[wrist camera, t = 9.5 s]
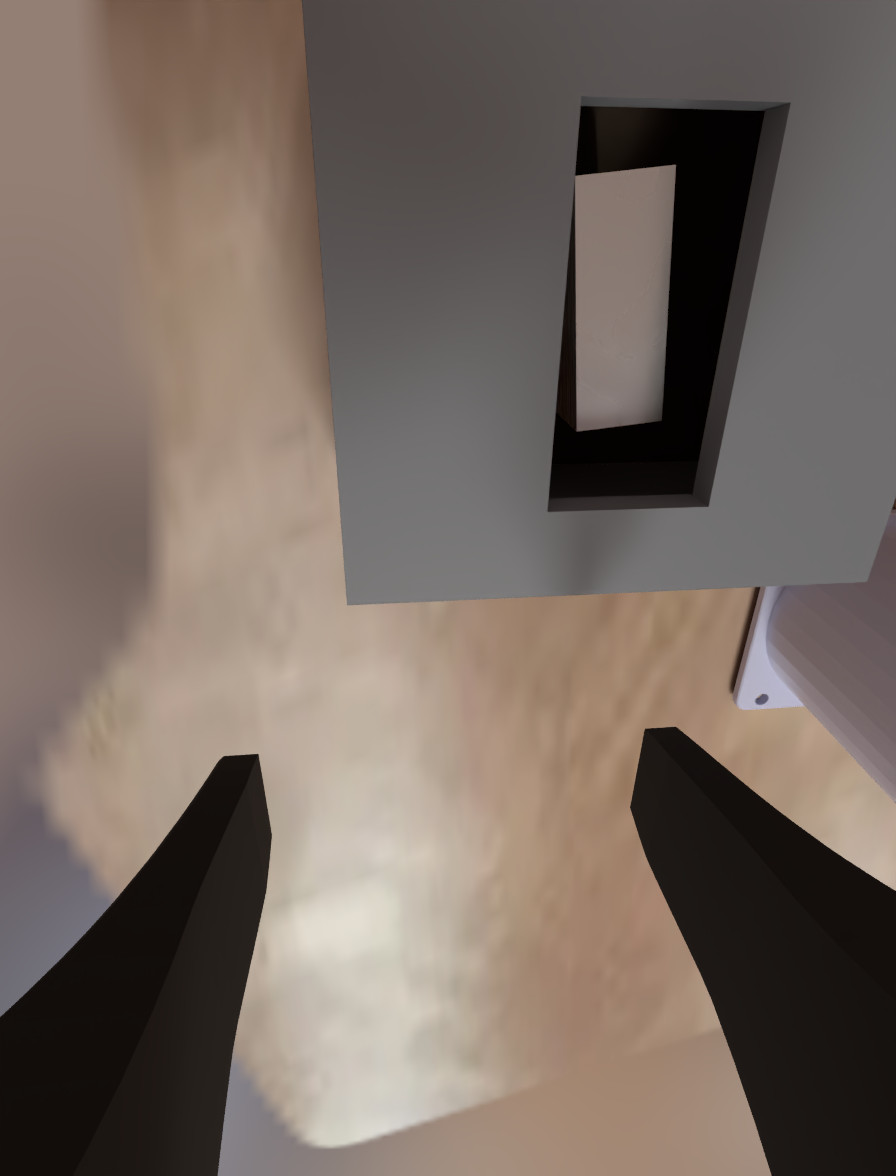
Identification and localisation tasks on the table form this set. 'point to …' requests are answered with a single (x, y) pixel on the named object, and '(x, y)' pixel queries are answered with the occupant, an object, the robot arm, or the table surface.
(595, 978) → the table surface
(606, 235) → the block
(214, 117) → the table surface
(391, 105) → the coin box
